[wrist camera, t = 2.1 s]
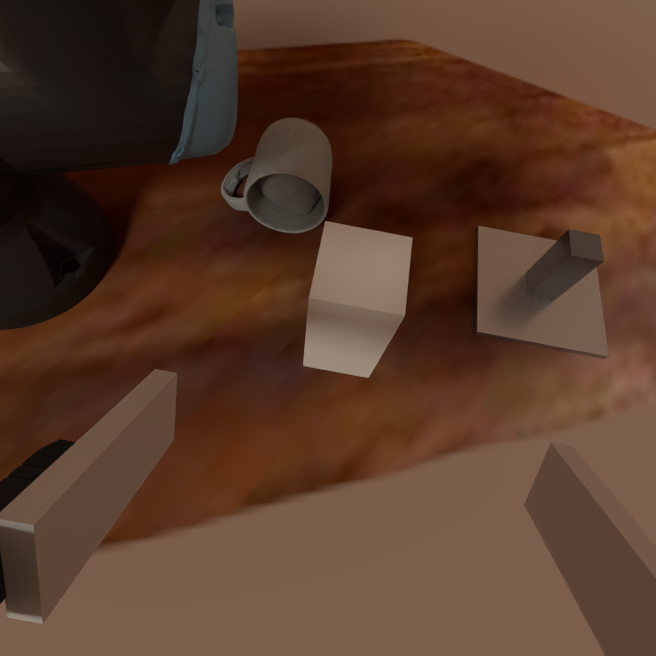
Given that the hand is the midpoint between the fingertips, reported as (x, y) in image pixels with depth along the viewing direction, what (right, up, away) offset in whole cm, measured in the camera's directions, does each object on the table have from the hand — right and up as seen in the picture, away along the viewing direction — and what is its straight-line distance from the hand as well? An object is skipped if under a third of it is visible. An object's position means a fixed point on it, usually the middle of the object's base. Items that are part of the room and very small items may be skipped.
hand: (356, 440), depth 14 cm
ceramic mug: (-6, +17, +27) cm, 32 cm away
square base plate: (+19, +8, +25) cm, 32 cm away
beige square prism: (0, +3, +21) cm, 21 cm away
